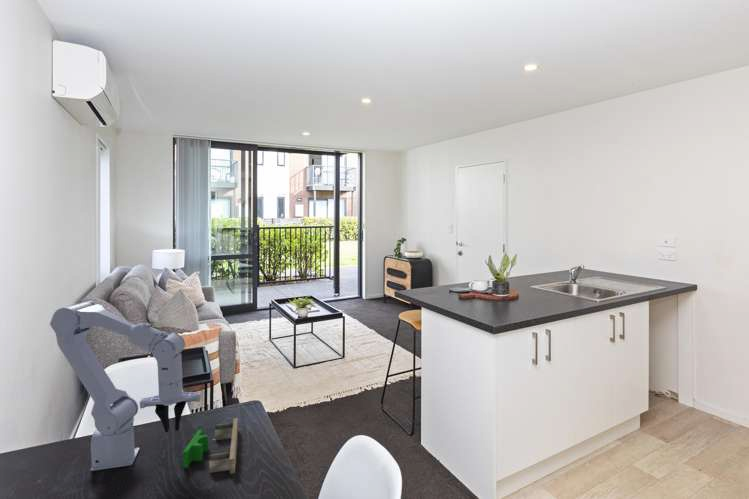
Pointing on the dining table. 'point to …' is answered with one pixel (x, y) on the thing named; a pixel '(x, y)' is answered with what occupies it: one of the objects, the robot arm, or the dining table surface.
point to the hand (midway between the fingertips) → (172, 429)
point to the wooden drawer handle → (228, 458)
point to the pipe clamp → (195, 449)
